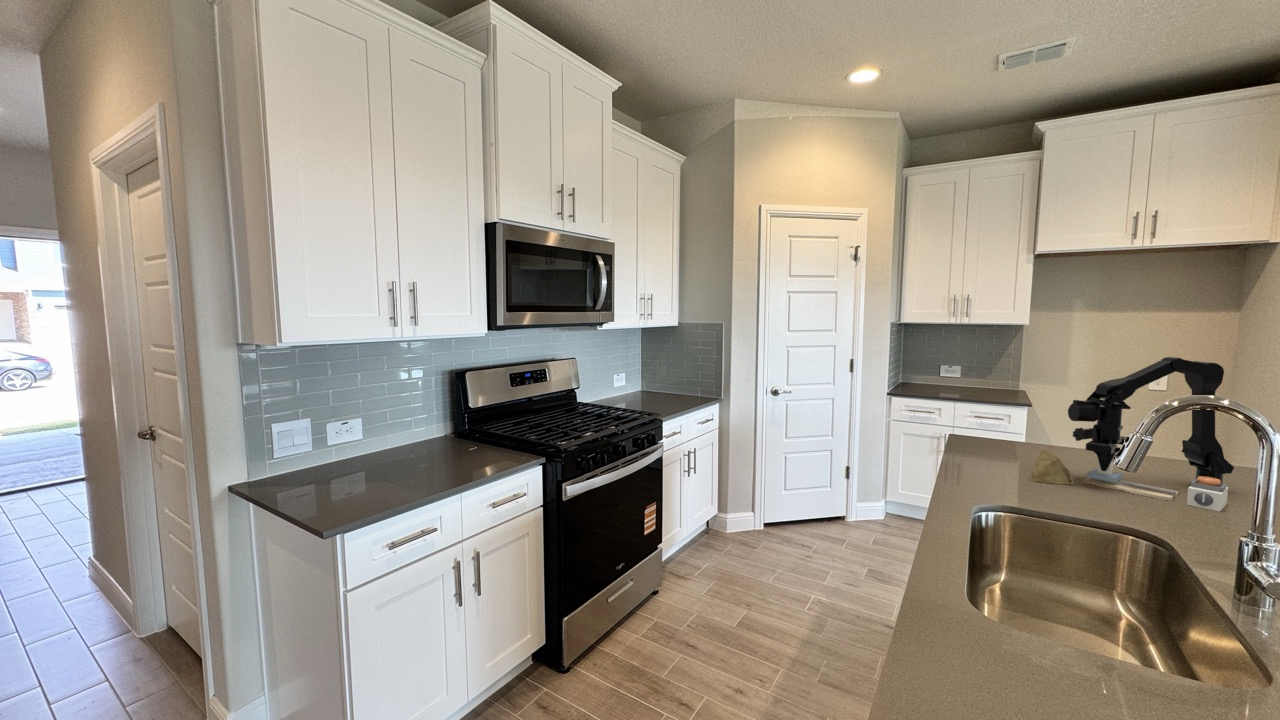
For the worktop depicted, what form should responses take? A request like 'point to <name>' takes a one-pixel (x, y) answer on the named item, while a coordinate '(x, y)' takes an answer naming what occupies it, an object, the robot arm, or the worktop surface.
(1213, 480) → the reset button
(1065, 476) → the rock
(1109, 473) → the carriage
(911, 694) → the worktop surface
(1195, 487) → the gauge cabinet
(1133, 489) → the rail
